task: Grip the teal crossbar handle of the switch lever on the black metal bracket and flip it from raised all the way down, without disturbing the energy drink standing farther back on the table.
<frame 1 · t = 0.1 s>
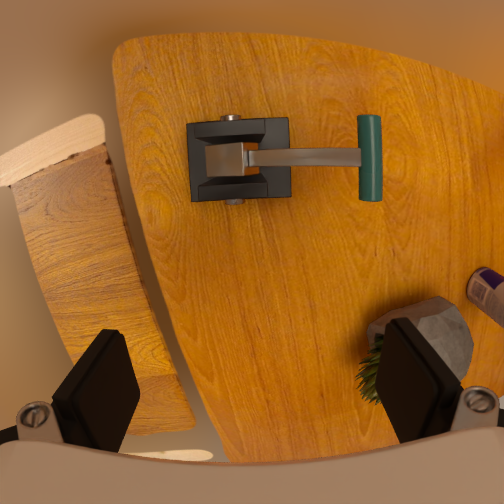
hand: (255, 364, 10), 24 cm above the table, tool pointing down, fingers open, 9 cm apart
bracket: (239, 159, 31), on the table
energy drink: (478, 284, 36), on the table
lever: (292, 157, 19), point 13 cm above the table, hinge at 25.0°
potted plant: (396, 334, 38), on the table
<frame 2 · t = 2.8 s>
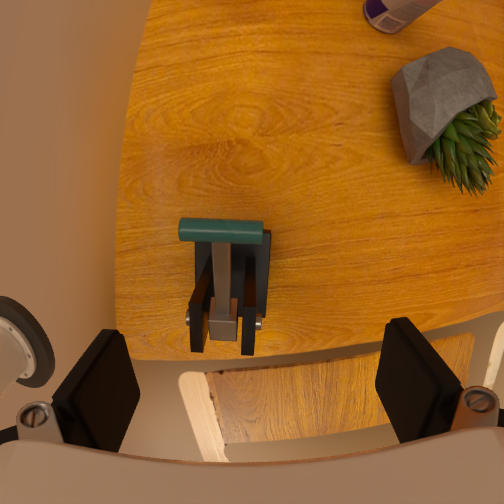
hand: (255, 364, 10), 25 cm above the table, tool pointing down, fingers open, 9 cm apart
bracket: (232, 272, 36), on the table
energy drink: (382, 16, 27), on the table
lever: (222, 285, 23), point 13 cm above the table, hinge at 25.0°
potted plant: (428, 124, 31), on the table
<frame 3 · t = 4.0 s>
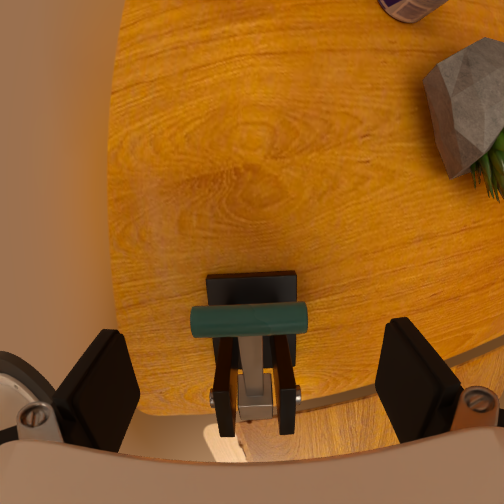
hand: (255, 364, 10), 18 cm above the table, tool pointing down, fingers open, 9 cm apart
bracket: (253, 320, 30), on the table
energy drink: (398, 3, 21), on the table
lever: (253, 370, 17), point 13 cm above the table, hinge at 25.0°
potted plant: (461, 126, 25), on the table
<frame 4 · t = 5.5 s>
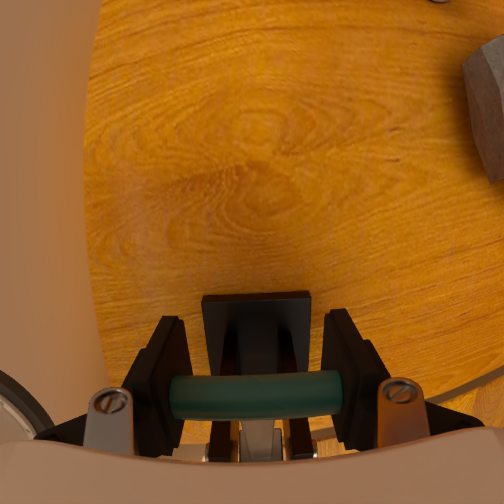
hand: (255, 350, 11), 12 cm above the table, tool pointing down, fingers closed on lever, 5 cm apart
bracket: (258, 348, 25), on the table
lever: (259, 436, 12), point 13 cm above the table, hinge at 25.0°, touching gripper
potted plant: (497, 123, 20), on the table
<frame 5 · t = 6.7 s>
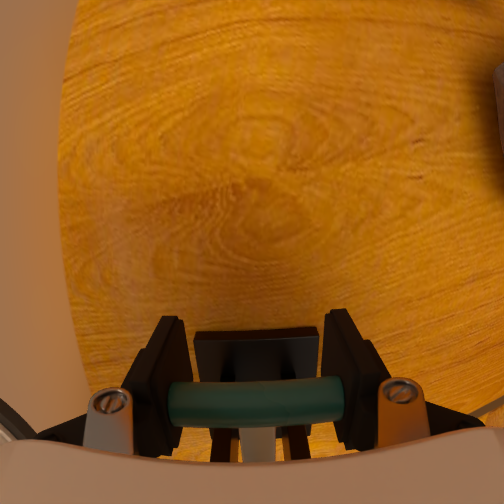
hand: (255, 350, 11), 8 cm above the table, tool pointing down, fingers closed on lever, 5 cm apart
bracket: (258, 386, 22), on the table
lever: (260, 481, 10), point 11 cm above the table, hinge at 1.8°, touching gripper
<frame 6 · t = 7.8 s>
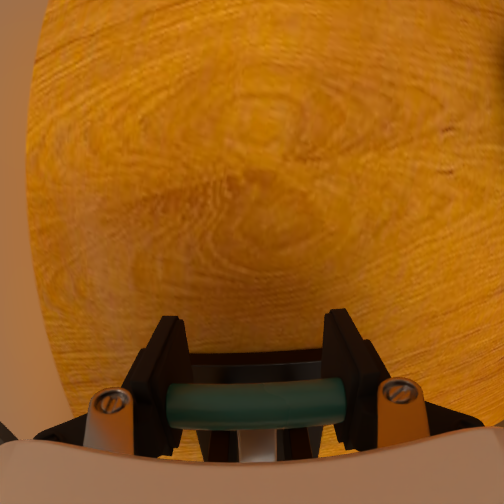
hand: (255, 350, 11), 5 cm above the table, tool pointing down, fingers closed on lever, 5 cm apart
bracket: (259, 413, 18), on the table
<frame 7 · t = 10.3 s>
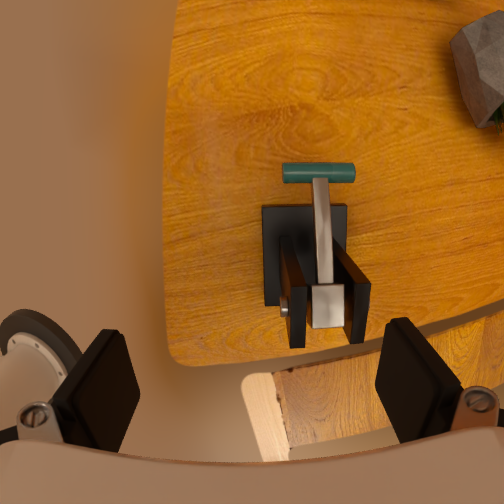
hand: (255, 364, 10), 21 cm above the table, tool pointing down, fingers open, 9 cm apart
bracket: (303, 254, 31), on the table
lever: (323, 242, 21), point 10 cm above the table, hinge at -20.4°
potted plant: (482, 88, 25), on the table
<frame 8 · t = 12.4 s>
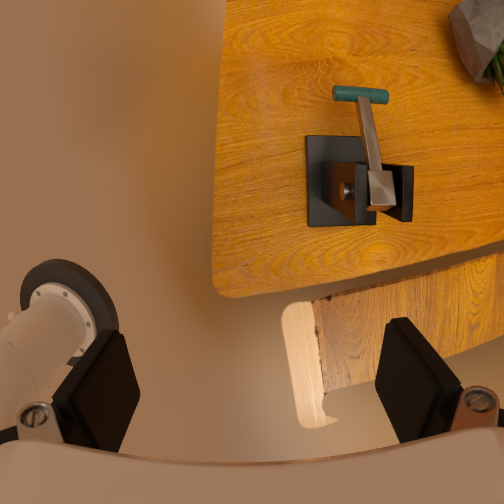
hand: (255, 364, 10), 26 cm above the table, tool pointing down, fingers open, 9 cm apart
bracket: (341, 180, 34), on the table
lever: (370, 143, 24), point 10 cm above the table, hinge at -20.4°
potted plant: (476, 55, 29), on the table
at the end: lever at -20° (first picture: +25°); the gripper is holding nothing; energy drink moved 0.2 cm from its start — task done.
